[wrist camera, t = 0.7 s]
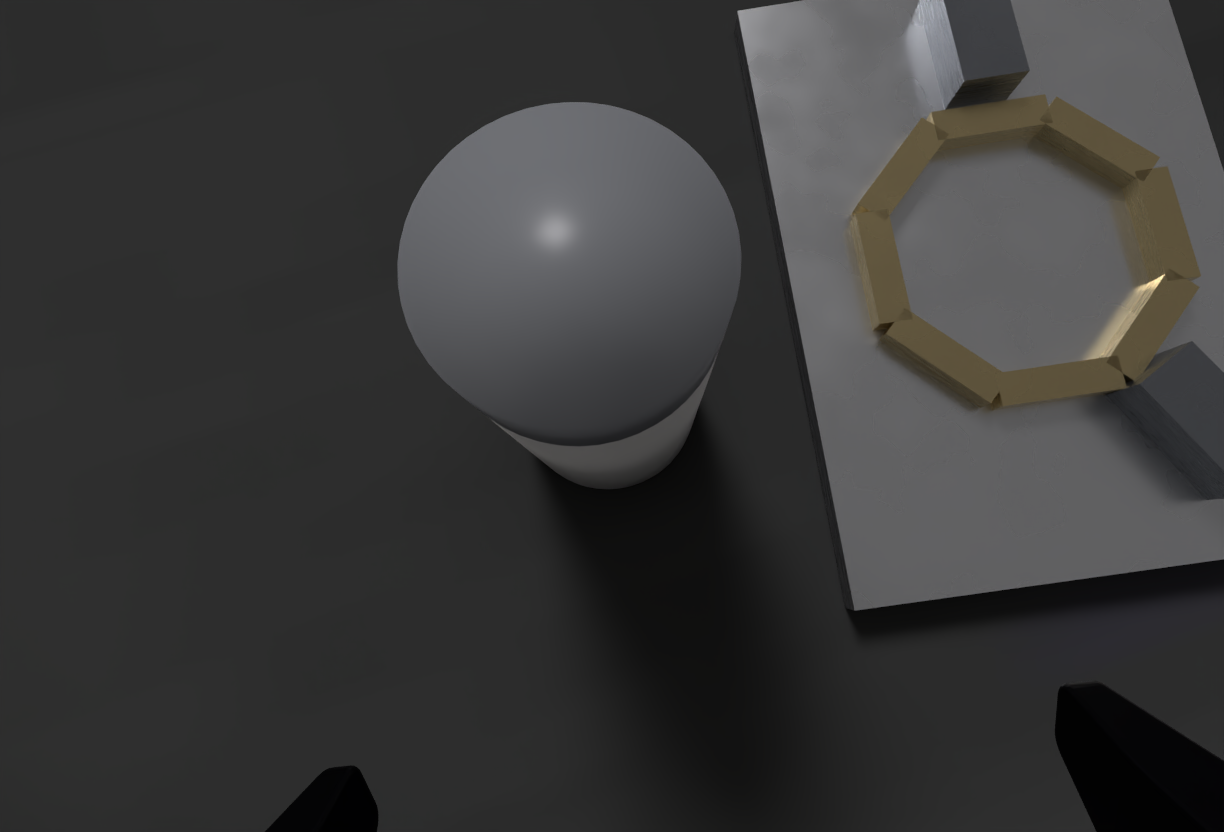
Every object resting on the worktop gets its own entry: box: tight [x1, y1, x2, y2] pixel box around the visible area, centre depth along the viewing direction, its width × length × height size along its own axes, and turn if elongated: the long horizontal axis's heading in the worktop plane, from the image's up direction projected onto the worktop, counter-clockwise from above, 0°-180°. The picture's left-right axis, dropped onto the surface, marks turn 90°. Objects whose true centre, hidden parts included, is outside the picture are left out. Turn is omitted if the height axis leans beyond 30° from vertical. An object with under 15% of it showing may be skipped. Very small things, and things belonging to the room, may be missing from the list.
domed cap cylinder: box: [398, 102, 741, 489], centre depth 18 cm, size 6×6×12 cm
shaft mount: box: [734, 0, 1224, 611], centre depth 22 cm, size 20×14×2 cm
